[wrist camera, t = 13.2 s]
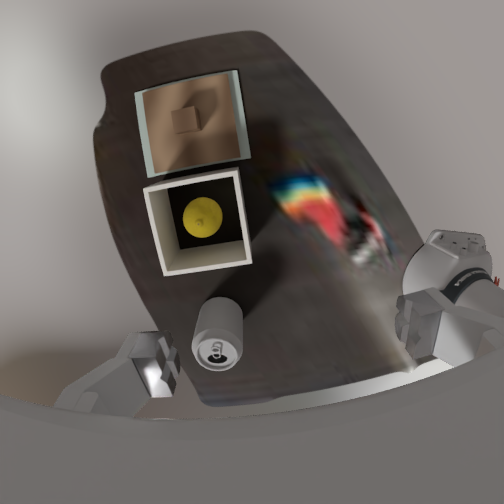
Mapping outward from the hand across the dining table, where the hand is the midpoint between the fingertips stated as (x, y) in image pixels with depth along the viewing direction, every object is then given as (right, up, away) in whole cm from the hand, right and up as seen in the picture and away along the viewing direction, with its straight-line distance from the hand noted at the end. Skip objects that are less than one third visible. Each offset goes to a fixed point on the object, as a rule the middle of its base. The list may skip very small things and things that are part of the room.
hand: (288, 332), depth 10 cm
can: (-7, -8, +41) cm, 43 cm away
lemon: (-8, +9, +35) cm, 37 cm away
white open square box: (-8, +9, +35) cm, 37 cm away
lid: (-10, +22, +30) cm, 39 cm away
